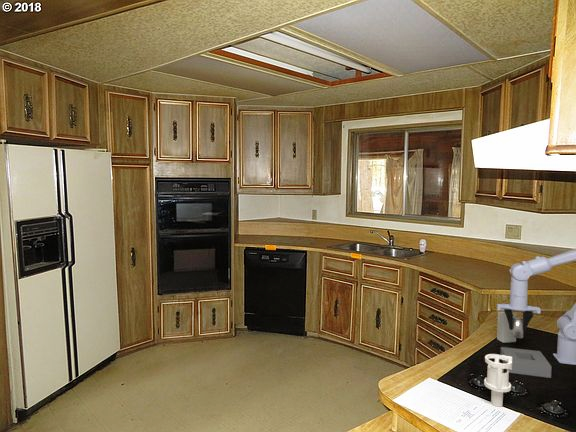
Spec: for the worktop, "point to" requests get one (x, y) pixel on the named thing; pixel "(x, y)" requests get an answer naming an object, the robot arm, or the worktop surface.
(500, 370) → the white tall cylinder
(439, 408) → the worktop surface
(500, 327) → the skincare box
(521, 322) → the peg
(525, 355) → the socket block
